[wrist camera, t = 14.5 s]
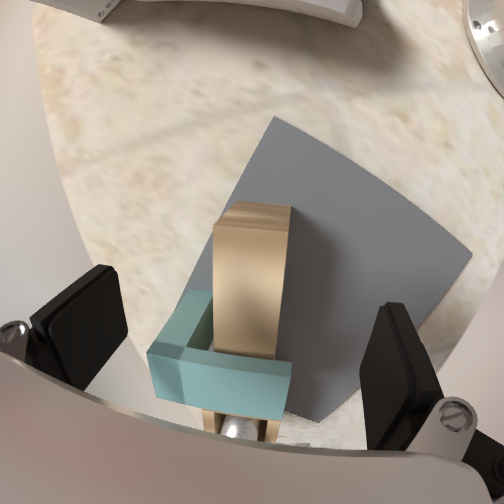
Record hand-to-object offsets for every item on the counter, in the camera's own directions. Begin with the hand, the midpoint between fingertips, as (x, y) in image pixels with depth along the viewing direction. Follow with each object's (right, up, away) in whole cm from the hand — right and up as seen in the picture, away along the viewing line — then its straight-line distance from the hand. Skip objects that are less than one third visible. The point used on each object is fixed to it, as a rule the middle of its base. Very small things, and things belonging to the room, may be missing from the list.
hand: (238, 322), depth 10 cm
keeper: (0, -3, +13) cm, 14 cm away
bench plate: (+5, -2, +13) cm, 14 cm away
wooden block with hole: (+1, -3, +13) cm, 14 cm away
